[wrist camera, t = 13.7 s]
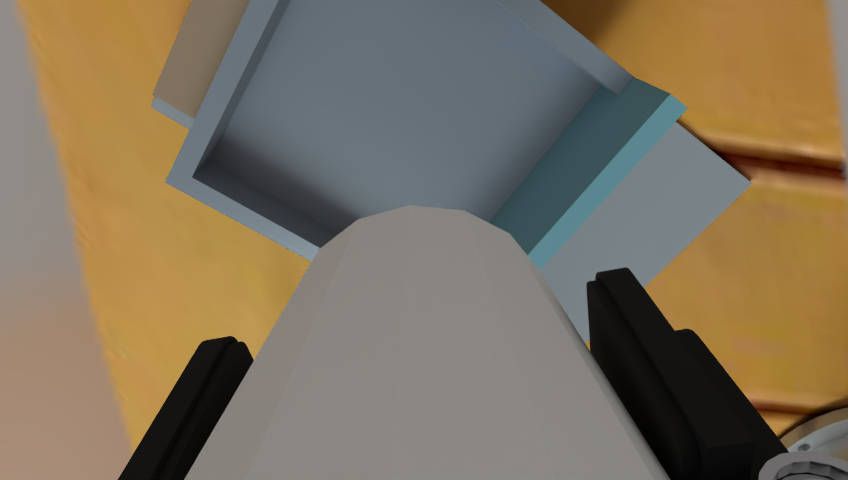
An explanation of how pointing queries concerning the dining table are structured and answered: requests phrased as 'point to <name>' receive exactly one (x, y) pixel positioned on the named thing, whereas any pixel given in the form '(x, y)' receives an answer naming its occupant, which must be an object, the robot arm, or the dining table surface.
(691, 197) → the track
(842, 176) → the dining table surface
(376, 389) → the white tapered cup
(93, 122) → the dining table surface
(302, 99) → the cart
